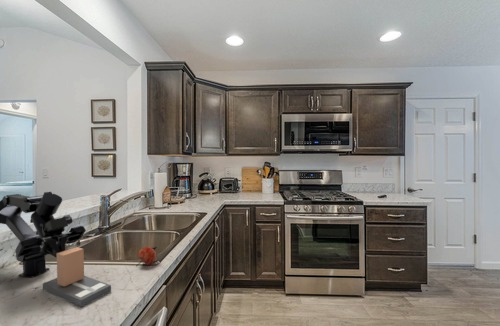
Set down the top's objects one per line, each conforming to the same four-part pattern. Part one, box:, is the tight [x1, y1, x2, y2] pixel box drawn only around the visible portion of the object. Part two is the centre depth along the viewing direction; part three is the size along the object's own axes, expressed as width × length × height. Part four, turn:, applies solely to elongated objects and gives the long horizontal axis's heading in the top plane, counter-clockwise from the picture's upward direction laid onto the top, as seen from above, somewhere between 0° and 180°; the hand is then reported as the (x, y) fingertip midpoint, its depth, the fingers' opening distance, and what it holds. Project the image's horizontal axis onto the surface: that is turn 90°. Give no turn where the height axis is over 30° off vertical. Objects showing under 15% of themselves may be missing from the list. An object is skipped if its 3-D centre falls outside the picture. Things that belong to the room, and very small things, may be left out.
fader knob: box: [56, 246, 85, 286], centre depth 79 cm, size 4×6×10 cm, turn 154°
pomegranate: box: [135, 246, 158, 267], centre depth 96 cm, size 7×7×10 cm
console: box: [41, 275, 112, 308], centre depth 77 cm, size 22×9×2 cm, turn 64°
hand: (63, 259), depth 81 cm, fingers closed
